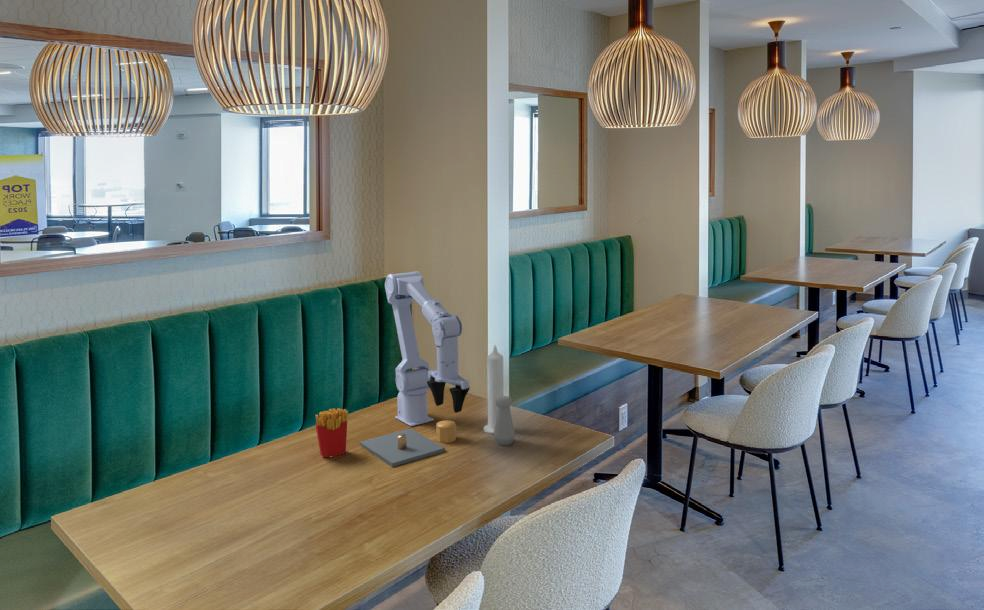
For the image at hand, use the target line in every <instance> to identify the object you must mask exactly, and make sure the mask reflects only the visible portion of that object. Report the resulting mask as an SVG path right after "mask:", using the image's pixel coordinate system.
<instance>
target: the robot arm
mask: <svg viewBox="0 0 984 610" xmlns="http://www.w3.org/2000/svg"><path fill="white" fill-rule="evenodd" d="M424 282H425V281H424V277H423V276H422V274H421V273H420V271H418V270H417V271H416V270H415V271H409V272H401V273H389V274H387V275H386V278H385V282H384V289H385V293H386V299H387V303H388V304H389V305H392V311H393V317H394V320H395V321H394V322H395V327H396V333H397V338H398V343H399V348H400V354H401V358H402V360H401V362H400V363H399V364H398V365H397V367H395V384H396V389H397V390H398V394H397V399H396V400H397V401H396V403H397V415H395V416H394V417H395V418H396V419H397V420H398V421H400V422H403V424H406V425H408V426H410V427H414V426H417V425H422V424H425V423H426V424H427V423H430V422H432V421H434V418H433V417H431V416H429V415H428V414H429V413H428V392H429V391H431V394H432V397H433V401H434V403H435V406H437V407H439V406H441V405H444V397H445V395H444V394H445V387H446V383H447V384H449V385H452V386H453V387H451V388H449V393H450V395H451V398H452V405H453V406H452V407H453V412H454V413H455V414H457V413H461V412H462V411H463V406H464V402H465V399H466V397H467V395H468V392H469V391H470V381H469V380H467V379H465V378H464V377H462V376H461V375H459V336H461V335H462V333H463V324H462V321H461V319H460V317H459V316H458V314H453V313H450V312H449V311H448V310H447V309H446V307H444V305H443V304H442V303H441V302H440V301H439V300H438V299H433V298H432V296H431V295H430V294H429V292H428V291H427V289H426V288H425V285H424V284H425V283H424ZM412 302H417V304H418V305H419V306H420V307H421V313H422V316H424V318H425V319H426V321H428V322H429V323H428V324H430V325H431V330H432V331H431V332H432V334H433V338H434V345H436V369H430V366H429V362H428V361H426V360H425V359H423V358H421V356H420V353H419V347H418V342H417V341H418V340H417V336H416V332H415V325H414V322H413V317H412V309H411V304H412ZM415 368H416V369H415Z"/></svg>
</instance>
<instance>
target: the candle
mask: <svg viewBox="0 0 984 610" xmlns="http://www.w3.org/2000/svg"><path fill="white" fill-rule="evenodd" d="M492 349H493V350H492V352H491V353H490V354H489V355H487V356H486V359H487V360H486V361H487V362H486V363H487V369H486V371H487V372H486V373H487V377H486V378H487V424H486V425H484V426H483V431H484V432H485V433H487V434H490V435H494V429H495V424H496V418H497V412H498V406H497V405H496V399H497V398H498V397H500V396H505V395H504V384H505V383H504V356H503V355H502V354H500V352H498V348H497V345H495V344H494V345H493V348H492Z"/></svg>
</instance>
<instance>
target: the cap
mask: <svg viewBox="0 0 984 610" xmlns="http://www.w3.org/2000/svg"><path fill="white" fill-rule="evenodd" d="M435 433H436V435H435V436H436V439H435V440H436V441H437V442H439V443H446V444H448V443H453V442H455V441H456V439H457V424H456V422H455V421H454V420H441V421H438V422H436V426H435Z"/></svg>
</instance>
